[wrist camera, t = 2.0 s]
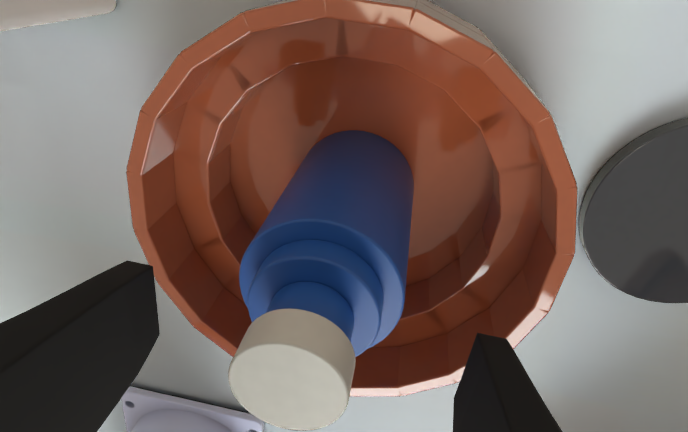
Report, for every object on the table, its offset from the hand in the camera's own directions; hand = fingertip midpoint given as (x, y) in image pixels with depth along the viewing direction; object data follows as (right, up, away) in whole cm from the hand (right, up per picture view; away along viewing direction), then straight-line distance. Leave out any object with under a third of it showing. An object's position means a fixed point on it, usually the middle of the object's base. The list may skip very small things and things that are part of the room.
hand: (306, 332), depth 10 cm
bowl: (+1, +4, +7) cm, 8 cm away
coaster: (+13, +3, +6) cm, 14 cm away
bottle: (+1, +4, +7) cm, 8 cm away
